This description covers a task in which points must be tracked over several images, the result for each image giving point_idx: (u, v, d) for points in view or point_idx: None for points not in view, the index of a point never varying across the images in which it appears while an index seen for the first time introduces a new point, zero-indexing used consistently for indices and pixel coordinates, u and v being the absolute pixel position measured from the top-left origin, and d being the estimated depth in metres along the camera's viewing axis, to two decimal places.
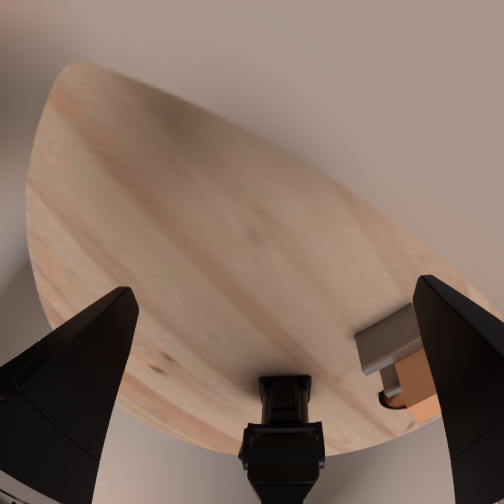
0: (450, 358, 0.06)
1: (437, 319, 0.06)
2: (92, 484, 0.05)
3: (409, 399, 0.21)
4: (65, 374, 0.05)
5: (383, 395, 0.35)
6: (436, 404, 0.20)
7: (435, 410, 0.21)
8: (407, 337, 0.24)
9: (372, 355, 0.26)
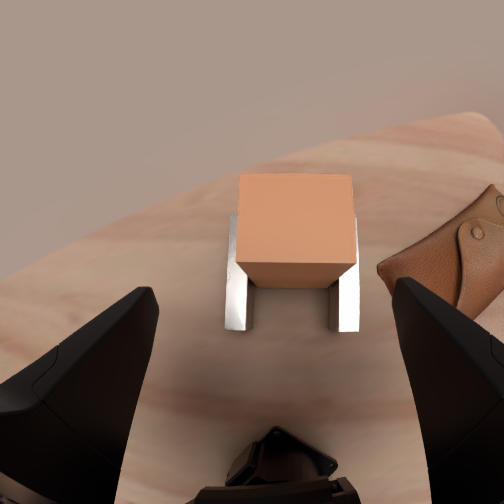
0: (426, 363, 0.06)
1: (413, 322, 0.07)
2: (113, 492, 0.05)
3: None
4: (88, 379, 0.05)
5: None
6: (294, 205, 0.12)
7: (330, 215, 0.12)
8: None
9: None
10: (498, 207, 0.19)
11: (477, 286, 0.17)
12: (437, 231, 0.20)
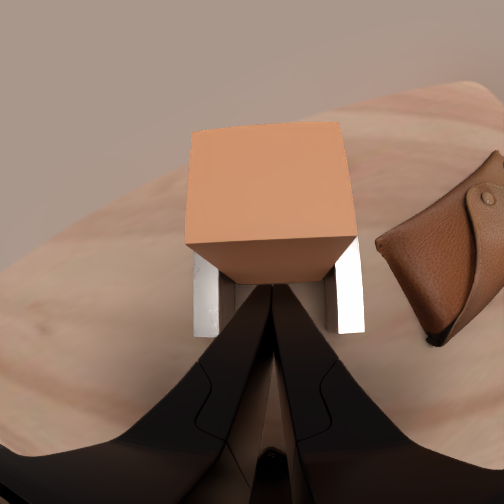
0: (278, 378, 0.06)
1: (272, 333, 0.07)
2: None
3: None
4: (250, 398, 0.05)
5: (431, 333, 0.16)
6: (263, 163, 0.09)
7: (315, 173, 0.09)
8: None
9: None
10: None
11: (494, 257, 0.13)
12: (442, 199, 0.17)
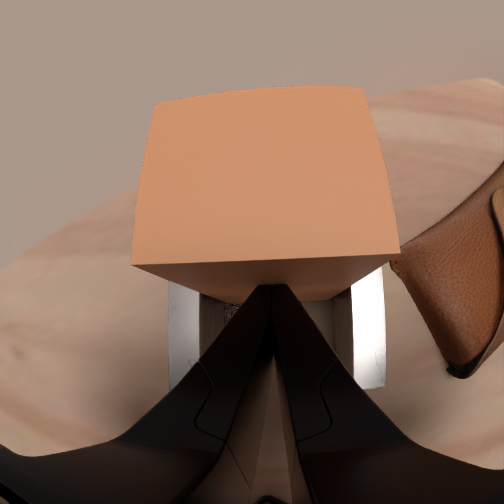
0: (278, 378, 0.06)
1: (272, 333, 0.07)
2: None
3: None
4: (250, 398, 0.05)
5: (454, 363, 0.12)
6: (252, 140, 0.06)
7: (332, 155, 0.05)
8: None
9: None
10: None
11: None
12: (464, 204, 0.14)
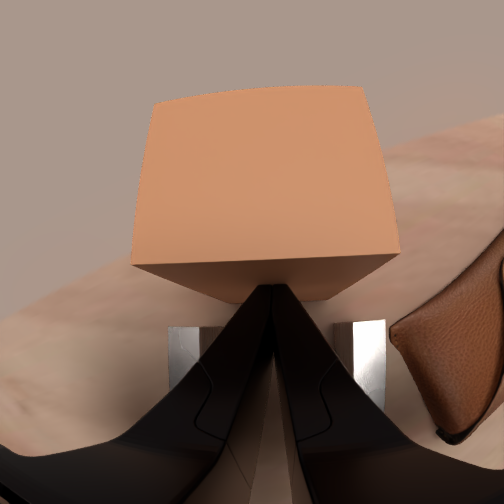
0: (278, 378, 0.06)
1: (272, 333, 0.07)
2: None
3: None
4: (250, 398, 0.05)
5: (443, 429, 0.11)
6: (252, 140, 0.06)
7: (332, 155, 0.05)
8: None
9: None
10: None
11: None
12: (473, 269, 0.13)
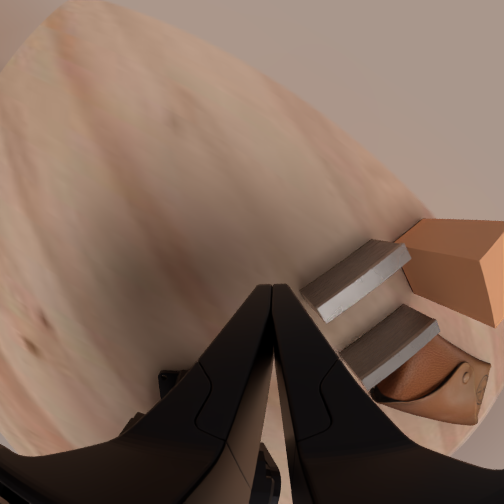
0: (278, 378, 0.06)
1: (272, 333, 0.07)
2: None
3: (474, 254, 0.13)
4: (250, 398, 0.05)
5: (378, 390, 0.23)
6: None
7: None
8: (377, 257, 0.18)
9: (330, 291, 0.18)
10: (481, 380, 0.23)
11: (437, 401, 0.20)
12: (455, 347, 0.23)
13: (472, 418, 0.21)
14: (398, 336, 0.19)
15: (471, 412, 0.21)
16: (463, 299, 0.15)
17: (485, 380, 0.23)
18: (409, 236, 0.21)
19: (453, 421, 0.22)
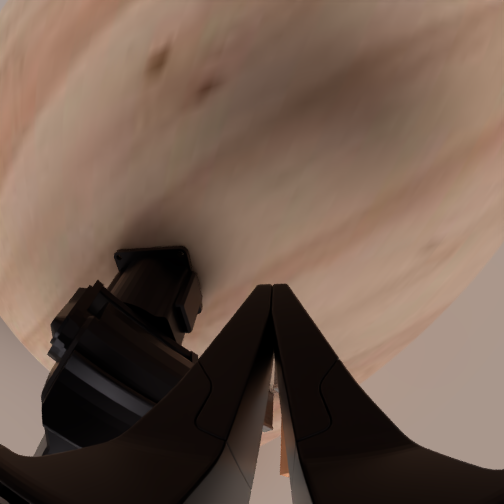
0: (278, 378, 0.06)
1: (273, 333, 0.07)
2: None
3: None
4: (250, 398, 0.05)
5: None
6: None
7: None
8: None
9: None
10: None
11: None
12: None
13: None
14: None
15: None
16: None
17: None
18: None
19: None
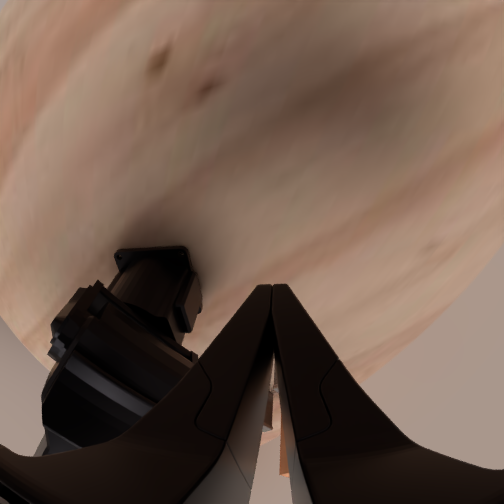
0: (278, 378, 0.06)
1: (272, 333, 0.07)
2: None
3: None
4: (250, 398, 0.05)
5: None
6: None
7: None
8: None
9: None
10: None
11: None
12: None
13: None
14: None
15: None
16: None
17: None
18: None
19: None
